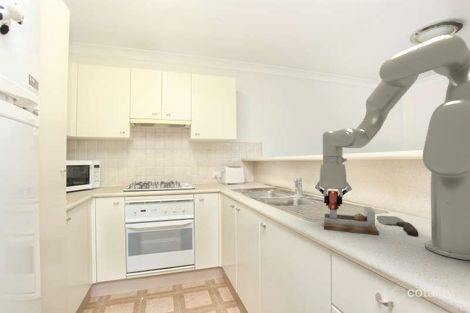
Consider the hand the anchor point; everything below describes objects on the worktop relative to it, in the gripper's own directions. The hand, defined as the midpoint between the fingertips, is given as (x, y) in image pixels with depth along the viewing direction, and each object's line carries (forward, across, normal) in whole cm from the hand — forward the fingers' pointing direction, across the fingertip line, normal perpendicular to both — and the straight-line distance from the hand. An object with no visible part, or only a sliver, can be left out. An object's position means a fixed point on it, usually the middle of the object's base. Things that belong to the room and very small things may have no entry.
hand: (333, 205), depth 94 cm
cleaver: (+9, -24, -10) cm, 27 cm away
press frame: (+7, -5, 0) cm, 8 cm away
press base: (+8, -6, 0) cm, 10 cm away
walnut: (+5, -10, 0) cm, 11 cm away
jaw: (+6, 0, 0) cm, 6 cm away
